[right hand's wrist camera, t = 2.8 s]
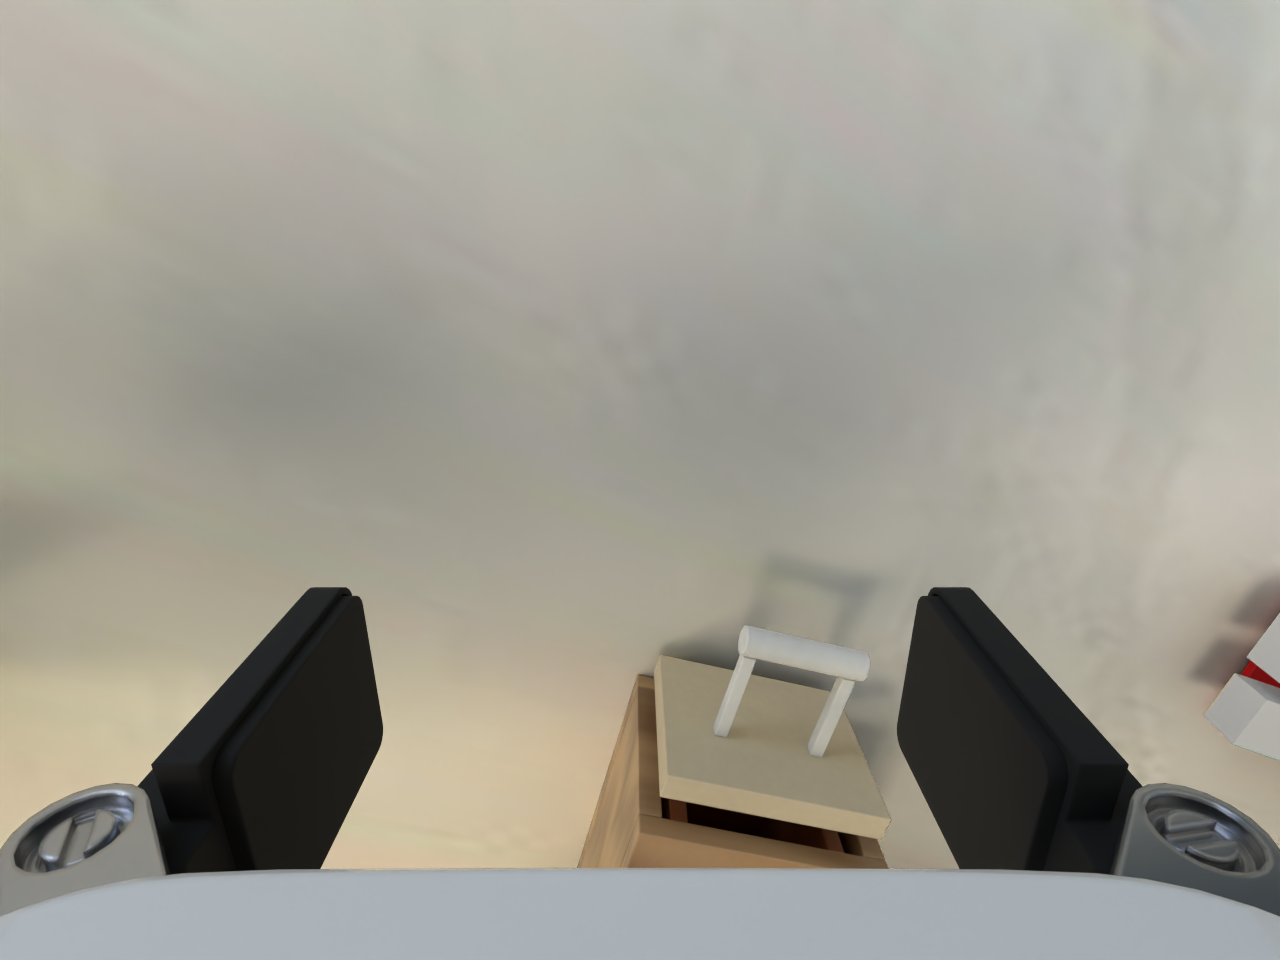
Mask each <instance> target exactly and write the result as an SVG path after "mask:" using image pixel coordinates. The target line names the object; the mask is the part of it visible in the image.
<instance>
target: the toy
mask: <svg viewBox="0 0 1280 960" xmlns="http://www.w3.org/2000/svg"><path fill="white" fill-rule="evenodd" d="M1247 658H1248V659H1250V662H1249V663H1248V664H1247V666H1246V667H1245V669H1244V670H1243V671H1242V673H1241V674H1237V673H1234V674H1233V676H1232V677H1231V678H1230V680H1229V681H1228V682H1227V684H1226V685H1225V686H1224V688H1223V689H1222V690H1221V692H1220V693H1219V694H1218V696H1217V697H1216V698H1215V700H1214V701H1213V702H1212V704H1211V705H1210V706H1209V708H1208V709H1207V710H1206V712H1205V713H1204V714H1203V716H1204V717H1205V718H1206V719H1207V720H1208V721H1209V722H1210V723H1211V724H1212V725H1213V726H1214V727H1215V728H1216V729H1217V730H1218V731H1219V732H1220V733H1221V734H1222V735H1223V736H1224V737H1225V738H1226V739H1227V740H1228V741H1229V742H1230V743H1232V744H1233V745H1236V746H1239V747H1242V748H1245V749H1247V750H1250V751H1253V752H1256V753H1259V754H1262V755H1265V756H1268V757H1271V758H1274V759H1277V760H1279V761H1280V613H1279V614H1278V616H1277V617H1276V618H1275V620H1274V621H1273V622H1272V624H1271V625H1270V626H1269V628H1268V629H1267V630H1266V632H1265V633H1264V634H1263V636H1262V637H1261V638H1260V640H1259V641H1258V642H1257V644H1256V645H1255V646H1254V648H1253V649H1252V650H1251V652H1250V653H1249V654H1248V656H1247Z"/></svg>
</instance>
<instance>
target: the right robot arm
mask: <svg viewBox="0 0 1280 960" xmlns="http://www.w3.org/2000/svg"><path fill="white" fill-rule="evenodd" d="M382 736H383V723H382V717H381V711H380V705H379V699H378V693H377V687H376V681H375V675H374V669H373V663H372V657H371V651H370V645H369V639H368V633H367V627H366V621H365V615H364V609H363V604H362V600H361V599H360V597H358V596H352V594H351V592H350V590H349V589H348V588H346V587H314V588H310V589H309V590H307V591H306V592H305V593H304V595H303V596H302V597H301V598H300V599H299V600H298V601H297V602H296V603H295V605H294V606H293V607H292V608H291V609H290V610H289V611H288V612H287V614H286V615H285V616H284V617H283V618H282V619H281V620H280V621H279V622H278V624H277V625H276V626H275V627H274V628H273V629H272V630H271V631H270V633H269V634H268V635H267V636H266V637H265V638H264V639H263V640H262V641H261V643H260V644H259V645H258V646H257V647H256V648H255V649H254V650H253V652H252V653H251V654H250V655H249V656H248V657H247V658H246V659H245V660H244V662H243V663H242V664H241V665H240V666H239V667H238V668H237V669H236V670H235V672H234V673H233V674H232V675H231V676H230V677H229V678H228V679H227V681H226V682H225V683H224V684H223V685H222V686H221V687H220V688H219V689H218V691H217V692H216V693H215V694H214V695H213V696H212V697H211V698H210V700H209V701H208V702H207V703H206V704H205V705H204V706H203V707H202V708H201V710H200V711H199V712H198V713H197V714H196V715H195V716H194V717H193V719H192V720H191V721H190V722H189V723H188V724H187V725H186V726H185V727H184V729H183V730H182V731H181V732H180V733H179V734H178V735H177V736H176V738H175V739H174V740H173V741H172V742H171V743H170V744H169V745H168V746H167V748H166V749H165V750H164V751H163V752H162V753H161V754H160V755H159V757H158V758H157V759H156V760H155V761H154V762H153V763H152V764H151V765H152V768H153V769H152V771H151V772H150V773H149V774H148V775H147V776H146V777H145V778H144V780H143V781H142V782H141V783H140V784H139V785H138V786H135V785H132V784H120V783H113V784H107V785H100V786H95V787H92V788H88V789H85V790H82V791H79V792H76V793H73V794H71V795H69V796H67V797H65V798H63V799H61V800H58V801H56V802H54V803H52V804H50V805H49V806H47V807H46V808H44V809H43V810H41V811H39V812H38V813H36V814H35V815H33V816H32V817H30V818H29V819H28V820H27V821H26V822H24V823H23V824H22V825H21V826H20V827H19V828H18V829H17V830H15V831H14V832H13V833H12V834H11V835H10V837H9V838H8V839H7V841H6V842H5V843H4V845H3V846H2V848H1V849H0V960H1280V849H1279V848H1278V846H1277V845H1276V844H1275V842H1274V841H1273V839H1272V838H1271V837H1270V835H1269V834H1268V833H1267V832H1266V831H1265V830H1263V829H1262V828H1261V827H1260V826H1259V825H1258V824H1257V823H1256V822H1254V821H1253V820H1252V819H1251V818H1250V817H1248V816H1247V815H1245V814H1244V813H1242V812H1241V811H1239V810H1237V809H1236V808H1234V807H1233V806H1231V805H1230V804H1228V803H1226V802H1224V801H1222V800H1219V799H1217V798H1215V797H1213V796H1211V795H1209V794H1207V793H1204V792H1201V791H1198V790H1195V789H1192V788H1188V787H1185V786H1180V785H1173V784H1167V783H1160V784H1148V785H1145V786H1142V785H1141V784H1140V783H1139V782H1138V781H1137V780H1136V778H1135V777H1134V776H1133V775H1132V774H1131V773H1130V772H1129V771H1128V769H1127V768H1128V765H1129V764H1128V763H1127V762H1126V761H1125V760H1124V759H1123V758H1122V757H1121V755H1120V754H1119V753H1118V752H1117V751H1116V750H1115V749H1114V748H1113V746H1112V745H1111V744H1110V743H1109V742H1108V741H1107V740H1106V739H1105V738H1104V736H1103V735H1102V734H1101V733H1100V732H1099V731H1098V730H1097V729H1096V727H1095V726H1094V725H1093V724H1092V723H1091V722H1090V721H1089V720H1088V719H1087V717H1086V716H1085V715H1084V714H1083V713H1082V712H1081V711H1080V710H1079V708H1078V707H1077V706H1076V705H1075V704H1074V703H1073V702H1072V701H1071V700H1070V698H1069V697H1068V696H1067V695H1066V694H1065V693H1064V692H1063V691H1062V689H1061V688H1060V687H1059V686H1058V685H1057V684H1056V683H1055V682H1054V681H1053V679H1052V678H1051V677H1050V676H1049V675H1048V674H1047V673H1046V672H1045V670H1044V669H1043V668H1042V667H1041V666H1040V665H1039V664H1038V663H1037V662H1036V660H1035V659H1034V658H1033V657H1032V656H1031V655H1030V654H1029V653H1028V652H1027V650H1026V649H1025V648H1024V647H1023V646H1022V645H1021V644H1020V643H1019V641H1018V640H1017V639H1016V638H1015V637H1014V636H1013V635H1012V634H1011V633H1010V631H1009V630H1008V629H1007V628H1006V627H1005V626H1004V625H1003V624H1002V622H1001V621H1000V620H999V619H998V618H997V617H996V616H995V615H994V614H993V612H992V611H991V610H990V609H989V608H988V607H987V606H986V605H985V603H984V602H983V601H982V600H981V599H980V598H979V597H978V596H977V595H976V593H975V592H974V591H973V590H971V589H970V588H966V587H934V588H932V589H931V590H930V592H929V594H928V596H922V597H920V599H919V600H918V604H917V609H916V615H915V621H914V627H913V633H912V639H911V645H910V651H909V657H908V663H907V669H906V675H905V681H904V687H903V693H902V699H901V705H900V711H899V717H898V723H897V736H898V742H899V745H900V748H901V750H902V752H903V754H904V756H905V758H906V761H907V763H908V765H909V767H910V769H911V771H912V773H913V775H914V777H915V779H916V781H917V783H918V785H919V787H920V789H921V791H922V793H923V795H924V797H925V799H926V801H927V803H928V805H929V807H930V809H931V811H932V813H933V815H934V817H935V819H936V822H937V824H938V826H939V828H940V830H941V832H942V834H943V836H944V838H945V840H946V842H947V844H948V846H949V848H950V850H951V852H952V854H953V856H954V858H955V860H956V862H957V864H958V866H959V868H960V869H826V868H454V869H320V868H321V866H322V864H323V862H324V860H325V858H326V856H327V854H328V852H329V850H330V848H331V846H332V844H333V842H334V840H335V838H336V836H337V834H338V832H339V830H340V828H341V826H342V824H343V822H344V819H345V817H346V815H347V813H348V811H349V809H350V807H351V805H352V803H353V801H354V799H355V797H356V795H357V793H358V791H359V789H360V787H361V785H362V783H363V781H364V779H365V777H366V775H367V773H368V771H369V769H370V767H371V765H372V763H373V761H374V758H375V756H376V754H377V752H378V750H379V748H380V745H381V742H382Z"/></svg>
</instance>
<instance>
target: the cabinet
mask: <svg viewBox="0 0 1280 960" xmlns="http://www.w3.org/2000/svg"><path fill="white" fill-rule="evenodd" d="M837 832H838V831H837ZM838 835H839V838H840V841H841V844H842V847H843V850H844V853H841V852H836V851H831V850H826V849H821V848H815V847H810V846H805V845H800V844H795V843H789V842H784V841H779V840H774V839H768V838H763V837H758V836H753V835H748V834H742V833H737V832H732V831H727V830H722V829H716V828H711V827H706V826H701V825H695V824H690V823H685V822H680V821H675V820H669V819H664V818H662V805H661V797H660V790H659V768H658V747H657V726H656V705H655V683H654V678H651V677H646V676H641V675H637V678H636V681H635V684H634V688H633V691H632V694H631V697H630V701H629V704H628V707H627V710H626V713H625V717H624V720H623V723H622V726H621V729H620V733H619V736H618V739H617V742H616V745H615V749H614V752H613V755H612V758H611V761H610V765H609V768H608V771H607V774H606V777H605V781H604V784H603V787H602V790H601V793H600V797H599V800H598V803H597V806H596V809H595V813H594V816H593V819H592V822H591V825H590V829H589V832H588V835H587V838H586V841H585V845H584V848H583V851H582V854H581V858H580V861H579V864H578V867H577V868H826V869H888V866H887V864H886V862H885V859H884V856H883V854H882V851H881V849H880V846H879V843H878V841H877V839H874V838H869V837H864V836H859V835H854V834H848V833H843V832H838Z"/></svg>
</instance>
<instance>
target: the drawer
mask: <svg viewBox="0 0 1280 960" xmlns="http://www.w3.org/2000/svg"><path fill="white" fill-rule="evenodd" d="M738 651H739V654H740V656H739V659H738V661H737V664H736V667H735V669H734V671H733V670H729V669H724V668H720V667H715V666H710V665H706V664H701V663H696V662H692V661H687V660H683V659H678V658H673V657H669V656H664V655H660V656H659V659H658V662H657V665H656V668H655V671H654V683H655V705H656V726H657V747H658V768H659V790H660V797H661V805H662V818H664V819H669V820H675V821H680V822H685V823H690V824H695V825H701V826H706V827H711V828H716V829H722V830H727V831H732V832H737V833H742V834H748V835H753V836H758V837H763V838H768V839H774V840H779V841H784V842H789V843H795V844H800V845H805V846H810V847H815V848H821V849H826V850H831V851H836V852H841V853H844V850H843V847H842V844H841V841H840V838H839V835H838V832H843V833H848V834H854V835H859V836H864V837H869V838H874V839H879V840H881V839H882V838H883V836H884V834H885V832H886V830H887V828H888V826H889V824H890V822H891V817H890V814H889V812H888V810H887V808H886V805H885V803H884V801H883V798H882V796H881V794H880V791H879V789H878V787H877V784H876V782H875V780H874V778H873V775H872V773H871V771H870V768H869V766H868V764H867V761H866V759H865V757H864V754H863V752H862V750H861V747H860V745H859V743H858V741H857V738H856V736H855V734H854V731H853V729H852V727H851V724H850V722H849V720H848V717H847V715H846V713H845V710H844V707H845V705H846V703H847V700H848V698H849V696H850V694H851V691H852V689H853V687H854V685H855V680H856V681H860V682H861V681H864V680H865V679H866V678H867V676H868V674H869V671H870V657H869V655H868V654H867V653H866V652H864V651H860V650H855V649H851V648H847V647H842V646H838V645H833V644H829V643H824V642H820V641H815V640H811V639H806V638H802V637H797V636H793V635H788V634H784V633H779V632H775V631H770V630H766V629H762V628H757V627H753V626H748V625H746V626H744V627H743V628H742V630H741V633H740V636H739V641H738ZM756 659H760V660H764V661H769V662H773V663H778V664H782V665H787V666H792V667H796V668H801V669H805V670H810V671H814V672H819V673H824V674H828V675H833V676H837V678H836V681H835V683H834V685H833V688H832V690H831V691H826V690H821V689H817V688H812V687H807V686H803V685H798V684H794V683H789V682H784V681H780V680H775V679H770V678H766V677H761V676H757V675H752V674H751V673H752V670H753V668H754V665H755V662H756ZM837 831H838V832H837Z"/></svg>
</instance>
